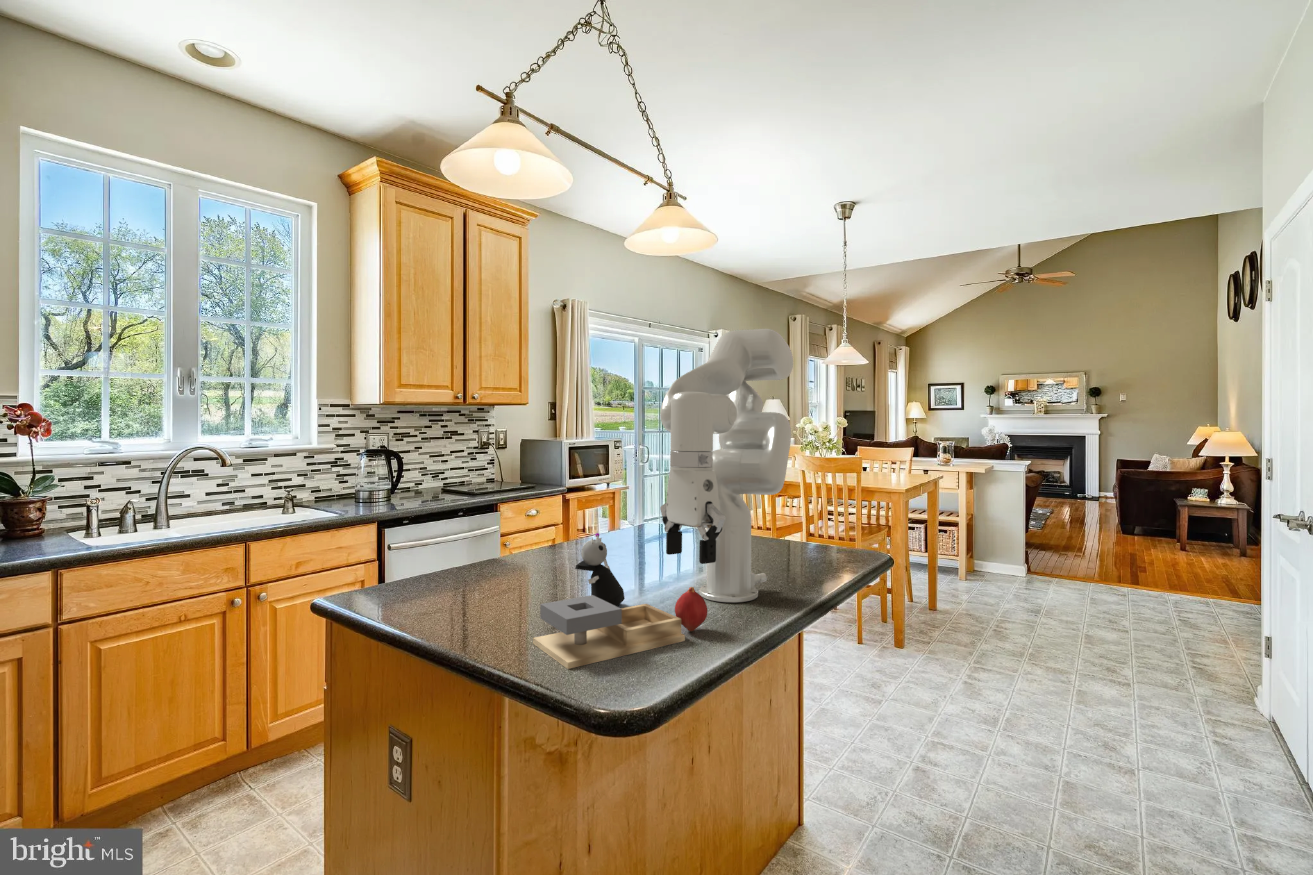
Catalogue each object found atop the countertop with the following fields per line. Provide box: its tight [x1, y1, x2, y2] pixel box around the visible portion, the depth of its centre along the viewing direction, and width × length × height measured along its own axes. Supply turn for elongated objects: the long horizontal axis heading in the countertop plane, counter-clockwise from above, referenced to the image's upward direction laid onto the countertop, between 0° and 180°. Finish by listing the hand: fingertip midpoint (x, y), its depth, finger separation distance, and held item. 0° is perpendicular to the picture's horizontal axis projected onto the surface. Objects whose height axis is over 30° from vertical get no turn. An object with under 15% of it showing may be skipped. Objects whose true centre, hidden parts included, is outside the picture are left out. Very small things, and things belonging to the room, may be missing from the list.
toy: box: [575, 533, 625, 607], centre depth 123 cm, size 12×7×15 cm, turn 168°
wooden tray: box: [532, 603, 686, 670], centre depth 105 cm, size 22×13×6 cm, turn 124°
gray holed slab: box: [539, 594, 622, 635], centre depth 102 cm, size 10×10×2 cm
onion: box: [674, 586, 709, 632], centre depth 111 cm, size 6×6×8 cm
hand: (690, 558), depth 110 cm, fingers open, 9 cm apart
